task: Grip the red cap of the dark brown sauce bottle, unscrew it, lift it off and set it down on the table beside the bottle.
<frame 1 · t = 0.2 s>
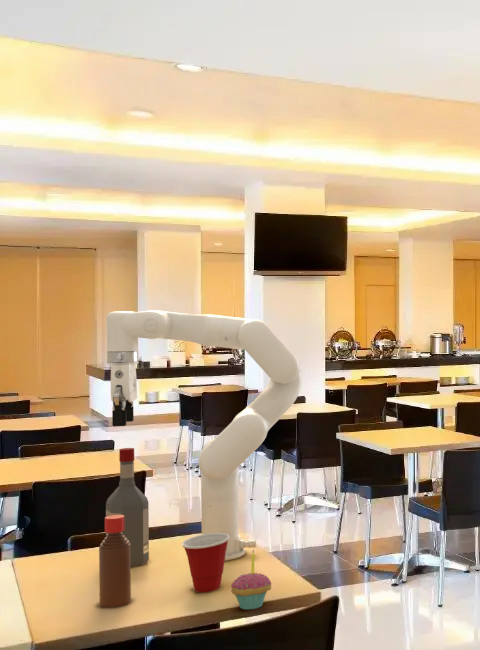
hand: (123, 423, 228), 37 cm above the table, tool pointing down, fingers open, 9 cm apart
sauce bottle: (115, 602, 196), on the table
liquor: (127, 564, 228), on the table
plastic cup: (206, 589, 206), on the table
cap: (114, 518, 197), point 19 cm above the table, screwed on, not yet turned
cupcake: (251, 607, 193), on the table
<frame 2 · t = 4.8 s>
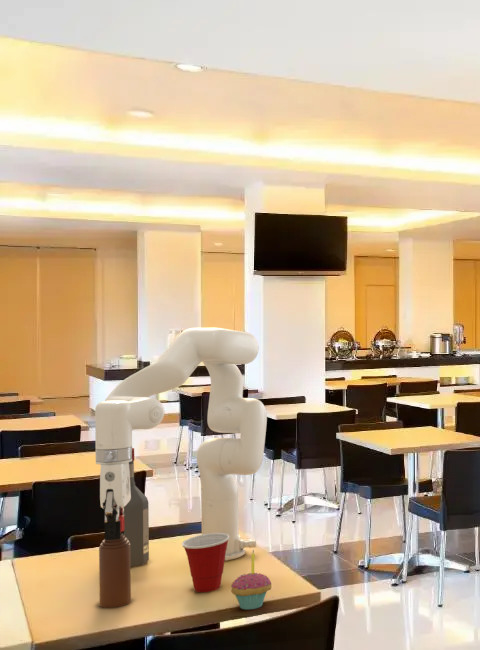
hand: (114, 536, 197), 15 cm above the table, tool pointing down, fingers closed on cap, 3 cm apart
cap: (114, 518, 197), point 19 cm above the table, screwed on, not yet turned, touching gripper
everything else where it was.
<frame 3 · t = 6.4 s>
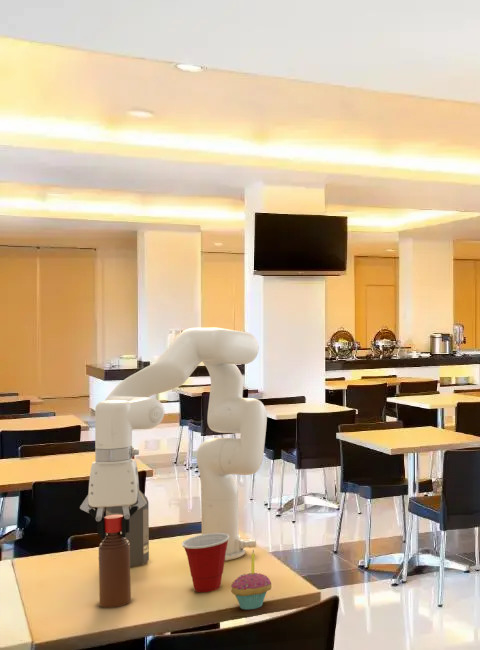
hand: (113, 535, 196), 15 cm above the table, tool pointing down, fingers closed on cap, 3 cm apart
cap: (113, 517, 196), point 19 cm above the table, turned 92° so far, risen 0.1 cm, still on its thread, touching gripper
everything else where it was.
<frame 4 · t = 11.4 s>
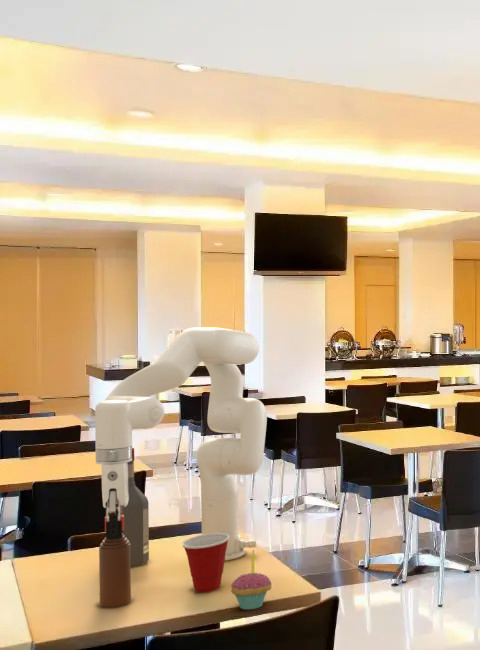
hand: (114, 535, 197), 15 cm above the table, tool pointing down, fingers closed on cap, 3 cm apart
cap: (114, 517, 197), point 19 cm above the table, turned 100° so far, risen 0.1 cm, still on its thread, touching gripper
everything else where it was.
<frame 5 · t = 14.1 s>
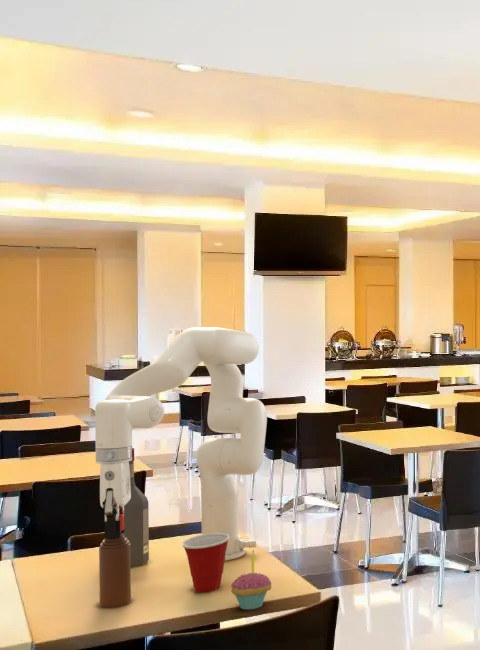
hand: (114, 535, 197), 15 cm above the table, tool pointing down, fingers closed on cap, 3 cm apart
cap: (114, 517, 197), point 19 cm above the table, turned 186° so far, risen 0.2 cm, still on its thread, touching gripper
everything else where it was.
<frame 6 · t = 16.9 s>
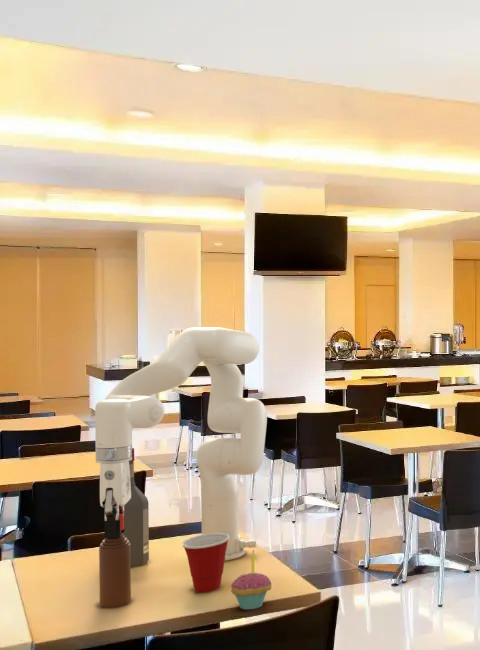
hand: (114, 534, 197), 15 cm above the table, tool pointing down, fingers closed on cap, 3 cm apart
cap: (114, 516, 197), point 19 cm above the table, turned 279° so far, risen 0.3 cm, still on its thread, touching gripper
everything else where it was.
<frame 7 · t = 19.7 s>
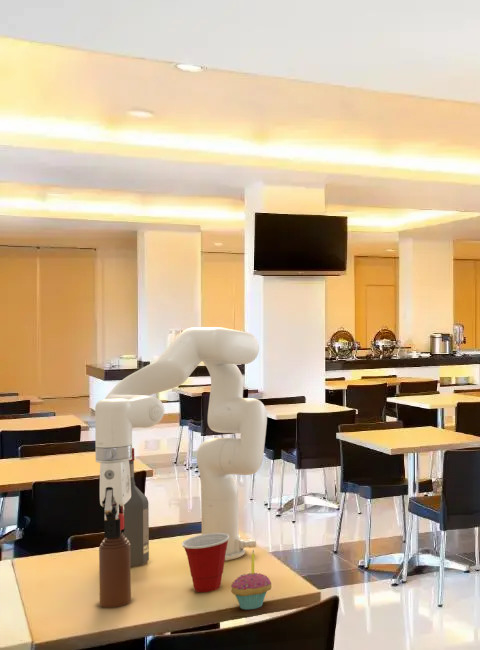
hand: (114, 534, 197), 15 cm above the table, tool pointing down, fingers closed on cap, 3 cm apart
cap: (114, 516, 197), point 20 cm above the table, turned 371° so far, risen 0.4 cm, still on its thread, touching gripper
everything else where it was.
when the fingers open (1 cm above the table, at t = 29.5 s): cap drops 2 cm, point 3 cm above the table.
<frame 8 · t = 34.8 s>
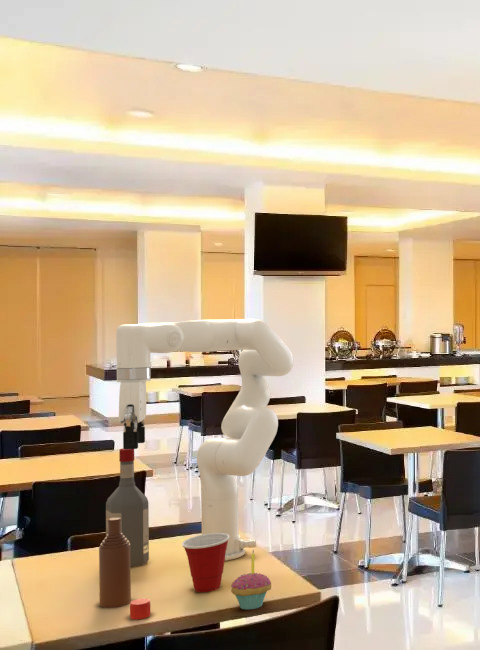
hand: (134, 445, 211), 33 cm above the table, tool pointing down, fingers open, 9 cm apart
cap: (140, 602, 187), point 3 cm above the table, off its thread
everything else where it was.
at the end: cap came off its thread; cap point 2.9 cm above the table; the gripper is holding nothing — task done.
